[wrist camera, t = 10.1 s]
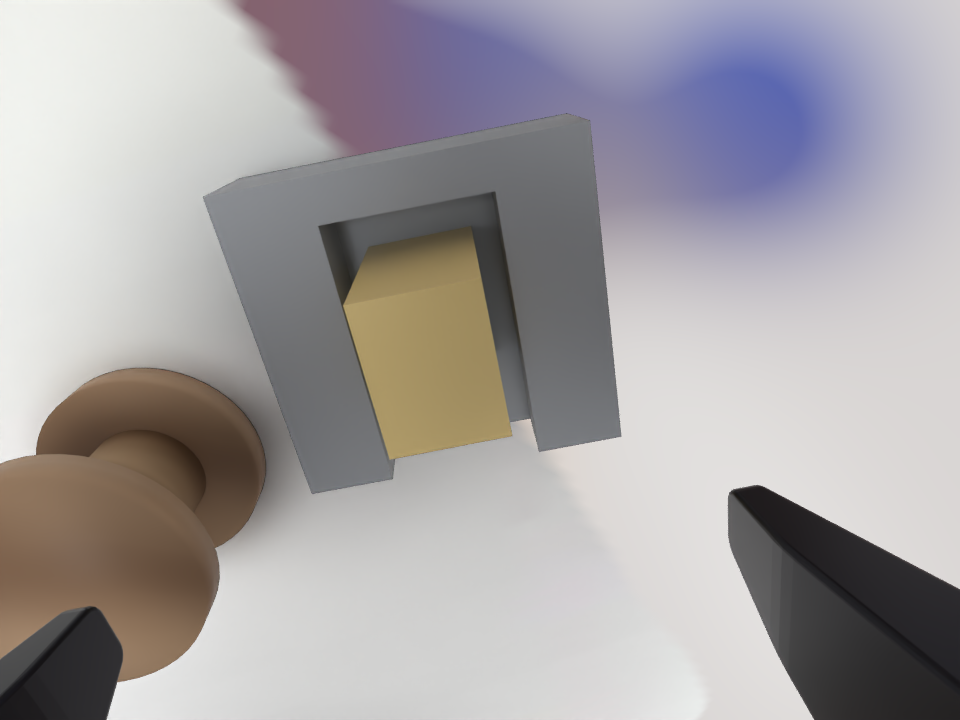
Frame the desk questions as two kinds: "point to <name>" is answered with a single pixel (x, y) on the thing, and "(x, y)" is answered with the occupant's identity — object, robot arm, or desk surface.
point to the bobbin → (127, 512)
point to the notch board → (412, 213)
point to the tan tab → (427, 344)
